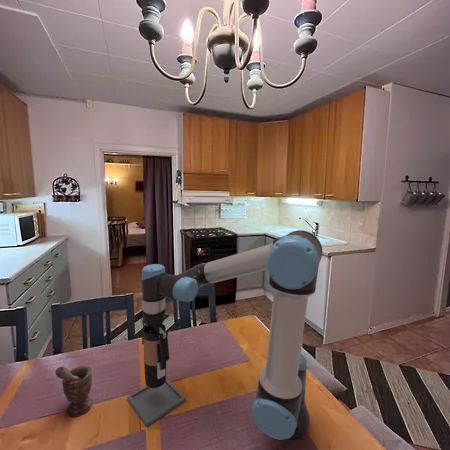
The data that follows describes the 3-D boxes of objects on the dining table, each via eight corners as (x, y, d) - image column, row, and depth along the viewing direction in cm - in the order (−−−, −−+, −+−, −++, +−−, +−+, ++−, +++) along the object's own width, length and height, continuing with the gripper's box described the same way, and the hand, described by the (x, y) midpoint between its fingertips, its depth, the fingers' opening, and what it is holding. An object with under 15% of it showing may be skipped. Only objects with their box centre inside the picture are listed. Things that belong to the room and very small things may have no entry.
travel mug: (161, 390, 86) (159, 335, 84) (140, 387, 88) (138, 333, 85) (170, 375, 94) (169, 324, 91) (151, 371, 95) (149, 321, 92)
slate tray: (185, 401, 91) (185, 397, 91) (146, 427, 81) (146, 423, 81) (164, 379, 102) (164, 375, 102) (127, 399, 92) (127, 396, 91)
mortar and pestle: (84, 425, 81) (80, 368, 79) (55, 429, 80) (50, 371, 77) (96, 397, 93) (93, 346, 90) (71, 400, 91) (67, 348, 89)
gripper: (180, 316, 82) (180, 380, 85) (149, 297, 97) (151, 352, 100) (159, 324, 77) (160, 392, 80) (130, 303, 92) (132, 361, 95)
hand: (155, 370), depth 90 cm, fingers closed on travel mug, 8 cm apart
